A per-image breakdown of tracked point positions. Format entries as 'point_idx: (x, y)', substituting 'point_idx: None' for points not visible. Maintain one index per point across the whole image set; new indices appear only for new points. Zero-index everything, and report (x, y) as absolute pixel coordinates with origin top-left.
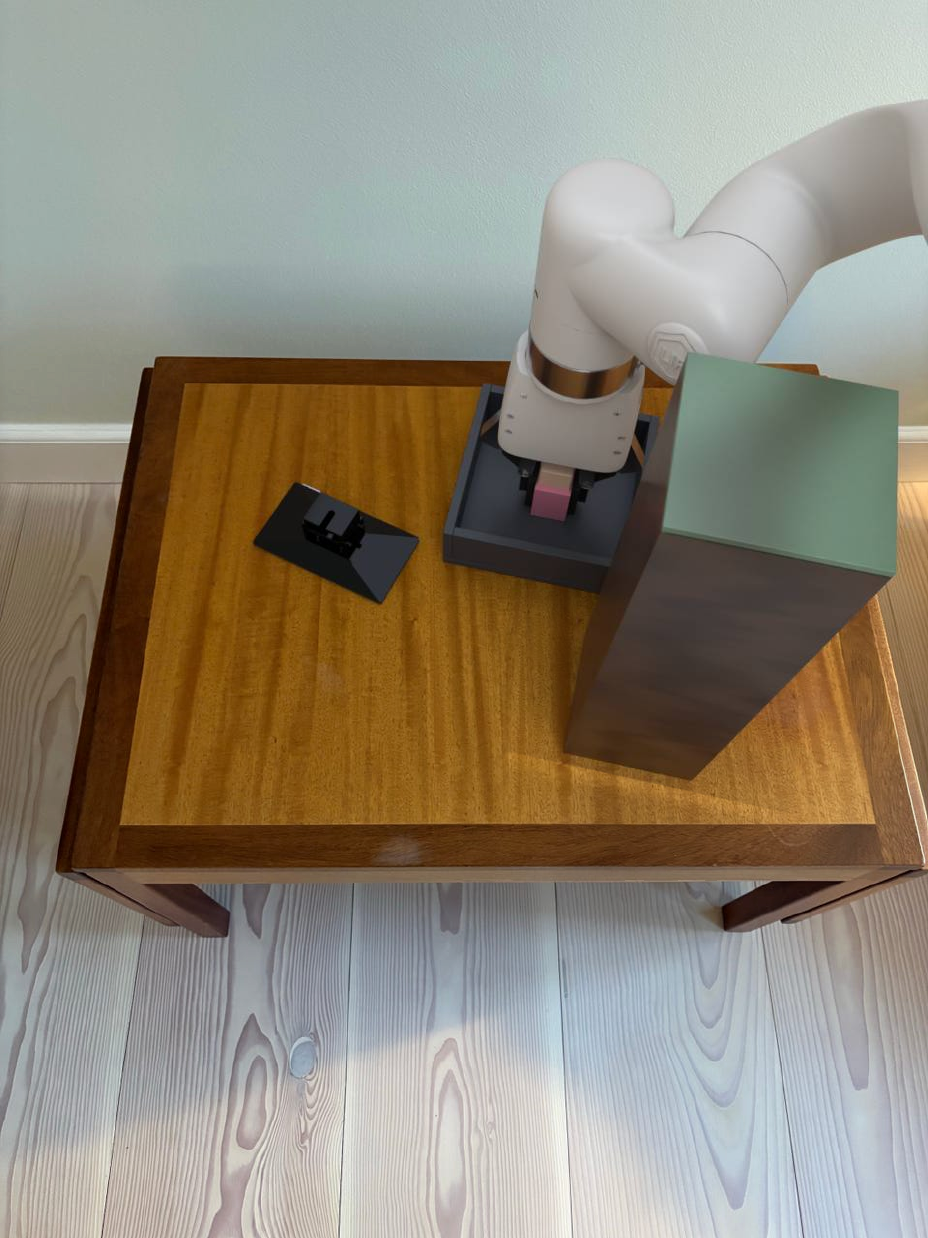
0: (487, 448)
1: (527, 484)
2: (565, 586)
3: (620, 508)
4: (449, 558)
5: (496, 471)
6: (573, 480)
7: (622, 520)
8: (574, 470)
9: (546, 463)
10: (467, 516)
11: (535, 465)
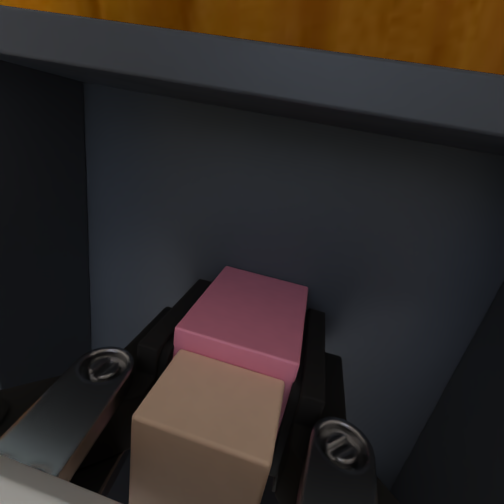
0: (102, 180)
1: None
2: None
3: (429, 357)
4: None
5: (132, 245)
6: (273, 456)
7: (427, 385)
8: (282, 408)
9: (143, 498)
10: (99, 343)
11: (130, 440)
